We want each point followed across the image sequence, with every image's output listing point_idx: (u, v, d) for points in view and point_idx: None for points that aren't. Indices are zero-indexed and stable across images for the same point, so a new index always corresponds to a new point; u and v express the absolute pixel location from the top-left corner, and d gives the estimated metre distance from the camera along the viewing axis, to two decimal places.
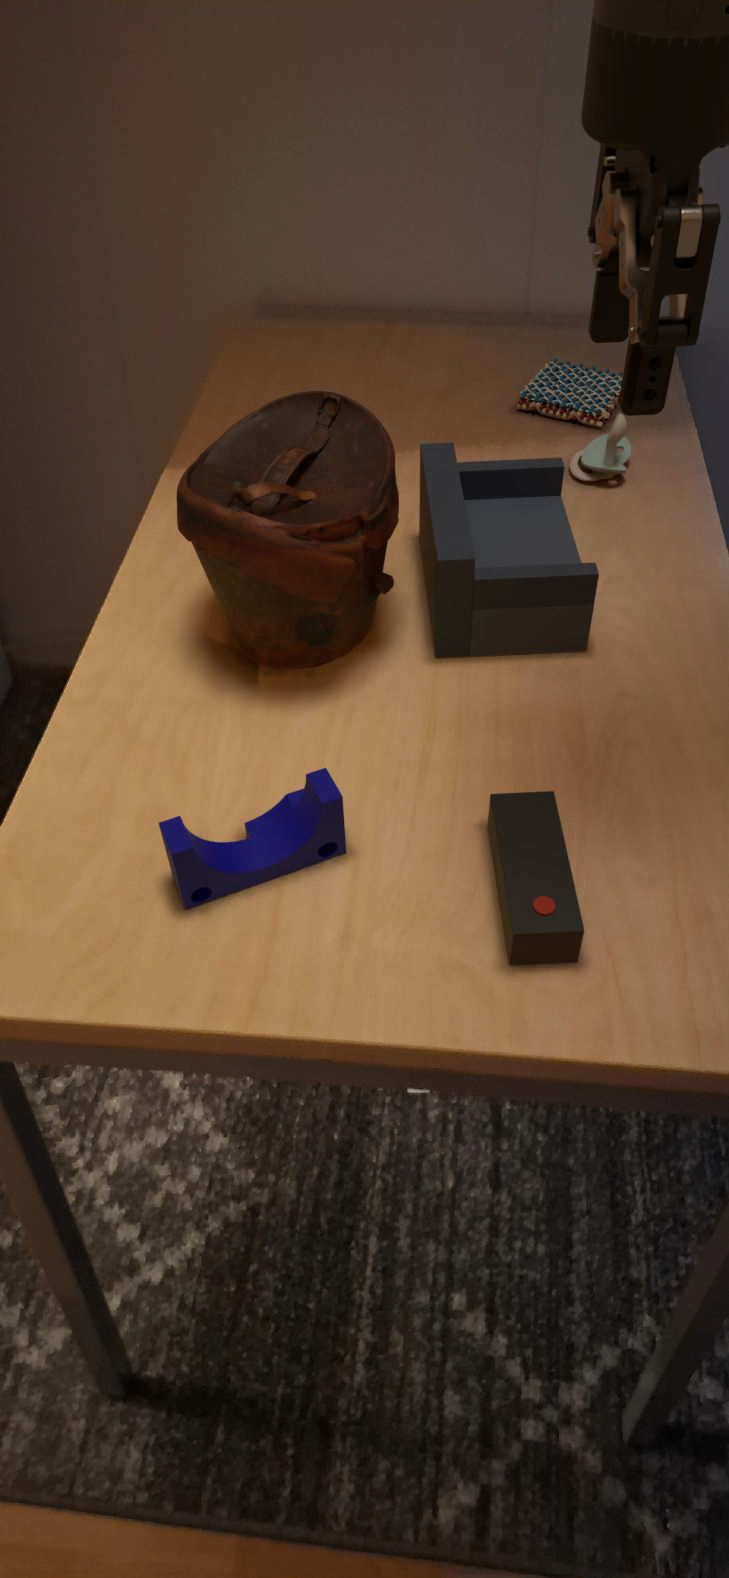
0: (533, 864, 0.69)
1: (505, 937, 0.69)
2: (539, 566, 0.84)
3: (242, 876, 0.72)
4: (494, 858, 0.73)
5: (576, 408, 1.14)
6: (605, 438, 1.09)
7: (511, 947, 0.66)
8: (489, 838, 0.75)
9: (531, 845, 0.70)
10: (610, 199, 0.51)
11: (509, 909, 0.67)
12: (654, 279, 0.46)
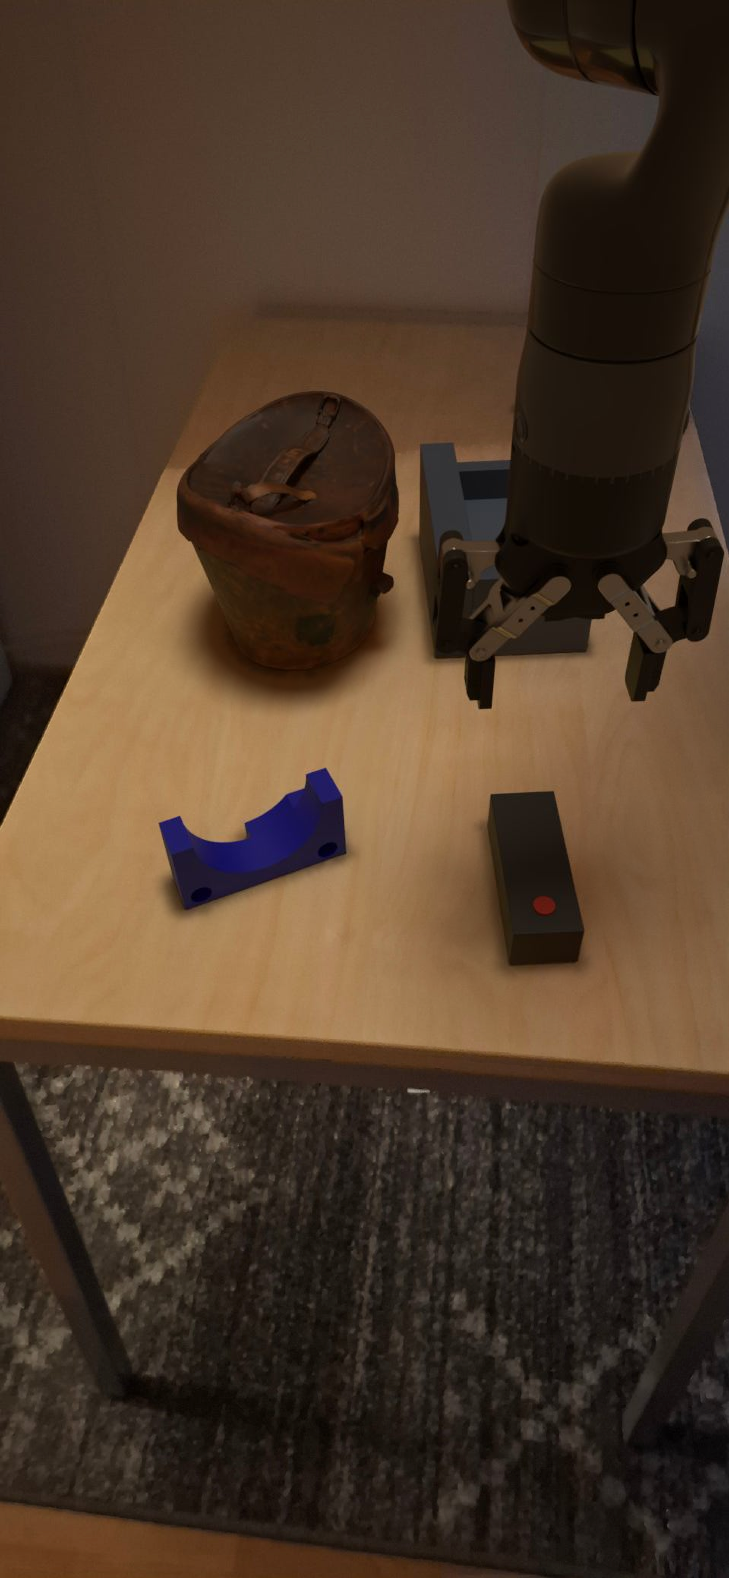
0: (533, 864, 0.69)
1: (505, 937, 0.69)
2: None
3: (242, 876, 0.72)
4: (494, 858, 0.73)
5: None
6: None
7: (511, 947, 0.66)
8: (489, 838, 0.75)
9: (531, 845, 0.70)
10: (564, 592, 0.51)
11: (509, 909, 0.67)
12: (714, 592, 0.52)
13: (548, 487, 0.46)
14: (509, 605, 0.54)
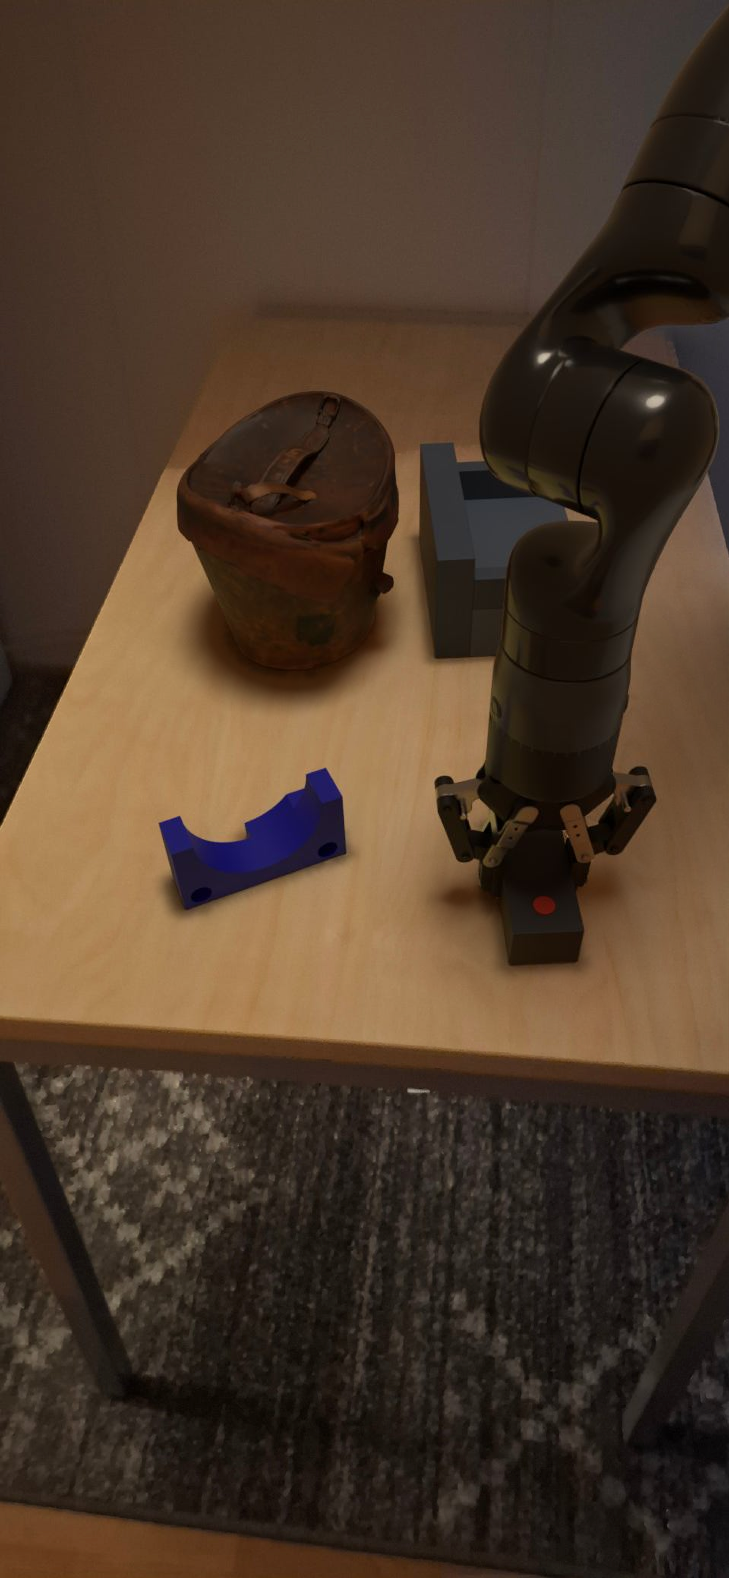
0: (533, 864, 0.69)
1: (505, 937, 0.69)
2: None
3: (242, 876, 0.72)
4: None
5: None
6: None
7: (511, 947, 0.66)
8: None
9: (531, 845, 0.70)
10: (536, 814, 0.63)
11: (509, 909, 0.67)
12: (638, 825, 0.65)
13: (517, 754, 0.58)
14: None
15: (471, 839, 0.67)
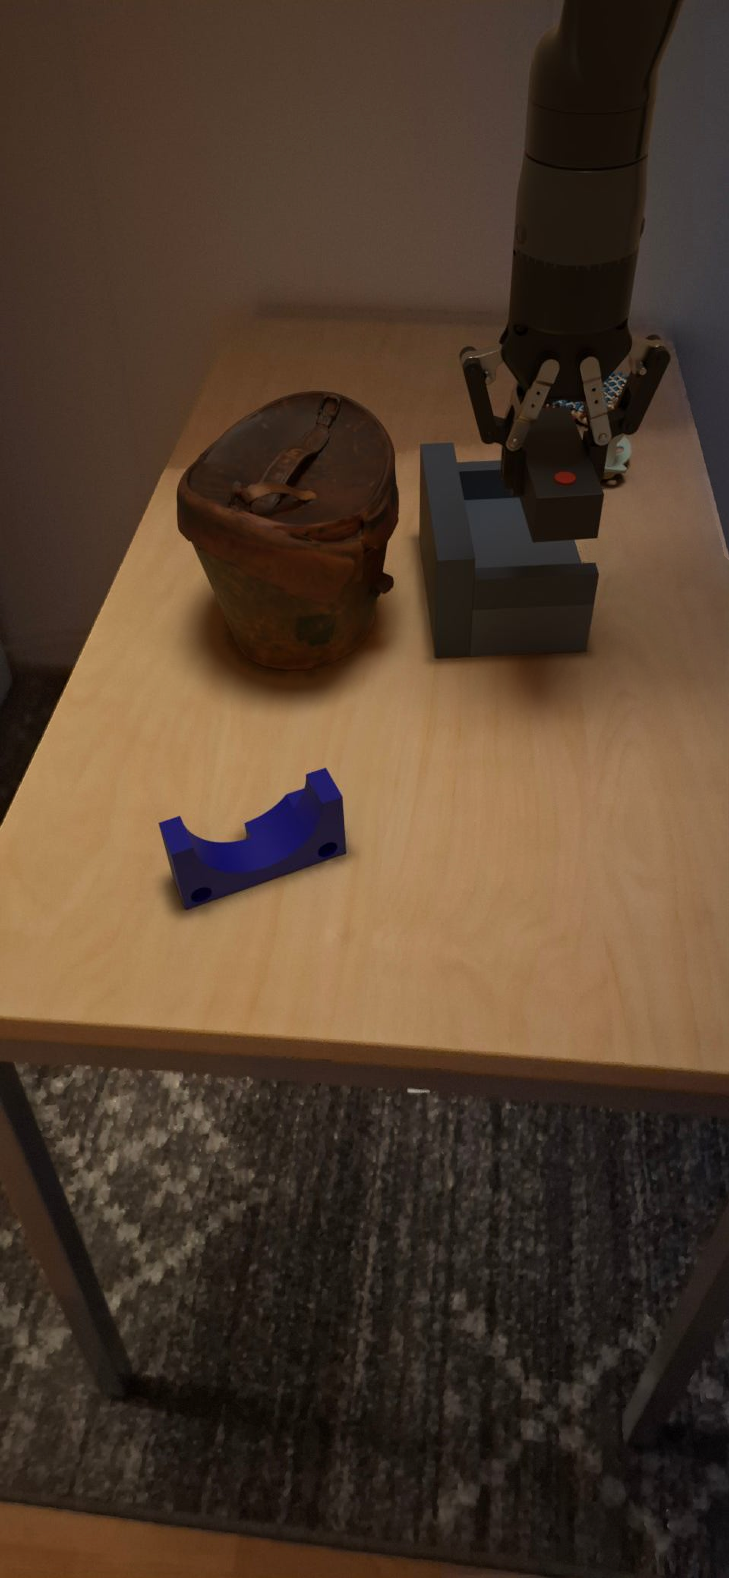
0: (552, 453, 0.73)
1: (528, 523, 0.72)
2: (539, 566, 0.84)
3: (242, 876, 0.72)
4: None
5: (576, 408, 1.14)
6: None
7: (535, 518, 0.70)
8: None
9: (550, 441, 0.74)
10: (557, 371, 0.67)
11: (532, 483, 0.70)
12: (653, 393, 0.69)
13: (541, 277, 0.62)
14: None
15: (494, 421, 0.71)
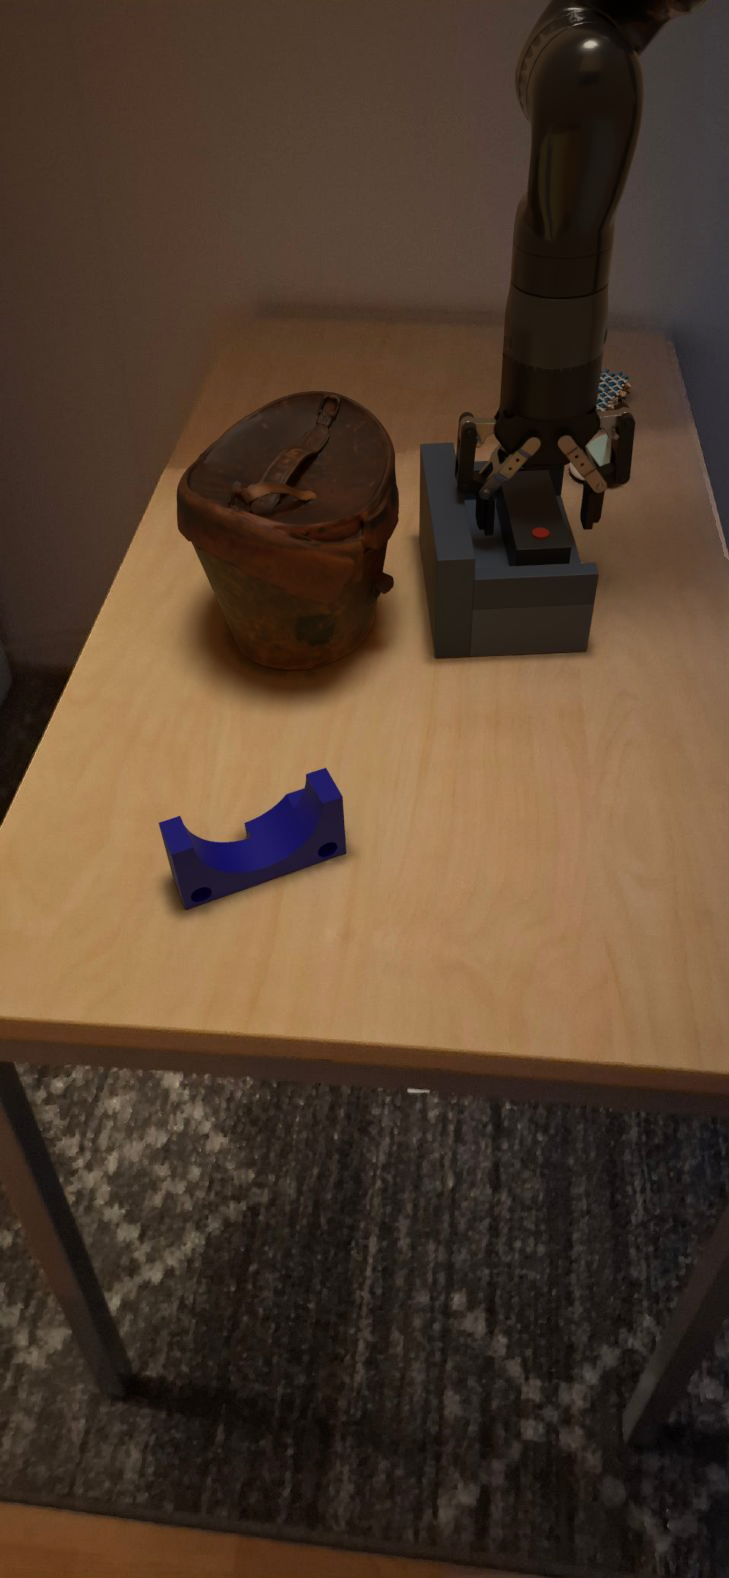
0: (532, 511, 0.88)
1: None
2: (539, 566, 0.84)
3: (242, 876, 0.72)
4: (501, 520, 0.92)
5: None
6: (605, 438, 1.09)
7: (515, 565, 0.86)
8: (497, 513, 0.95)
9: (530, 500, 0.90)
10: (537, 448, 0.83)
11: (513, 536, 0.86)
12: (631, 449, 0.84)
13: (524, 376, 0.77)
14: (503, 461, 0.86)
15: None
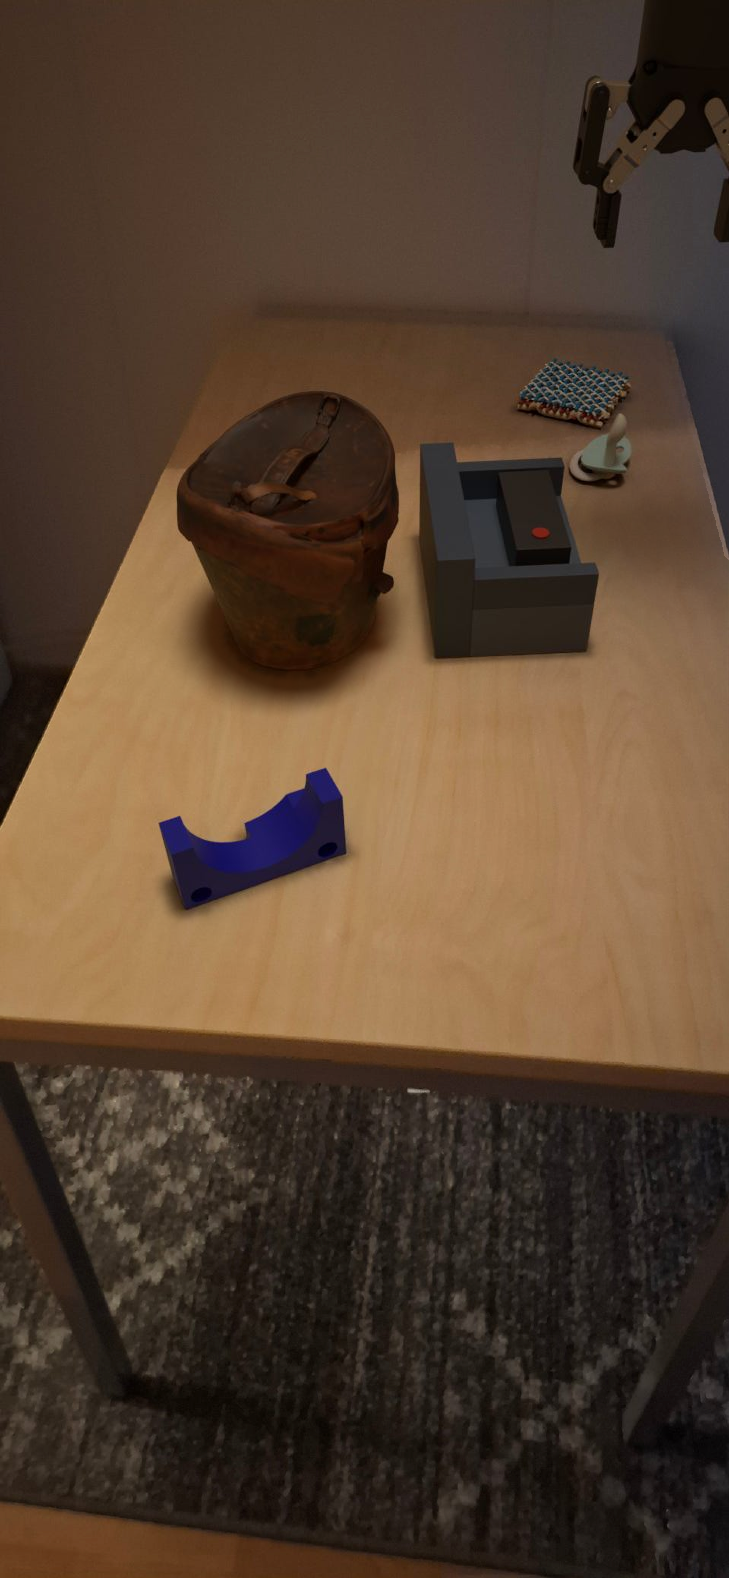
0: (532, 511, 0.88)
1: None
2: (539, 566, 0.84)
3: (242, 876, 0.72)
4: (501, 520, 0.92)
5: (576, 408, 1.14)
6: (605, 438, 1.09)
7: (515, 565, 0.86)
8: (497, 513, 0.95)
9: (530, 500, 0.90)
10: (679, 117, 0.70)
11: (513, 536, 0.86)
12: None
13: (677, 2, 0.64)
14: None
15: None
